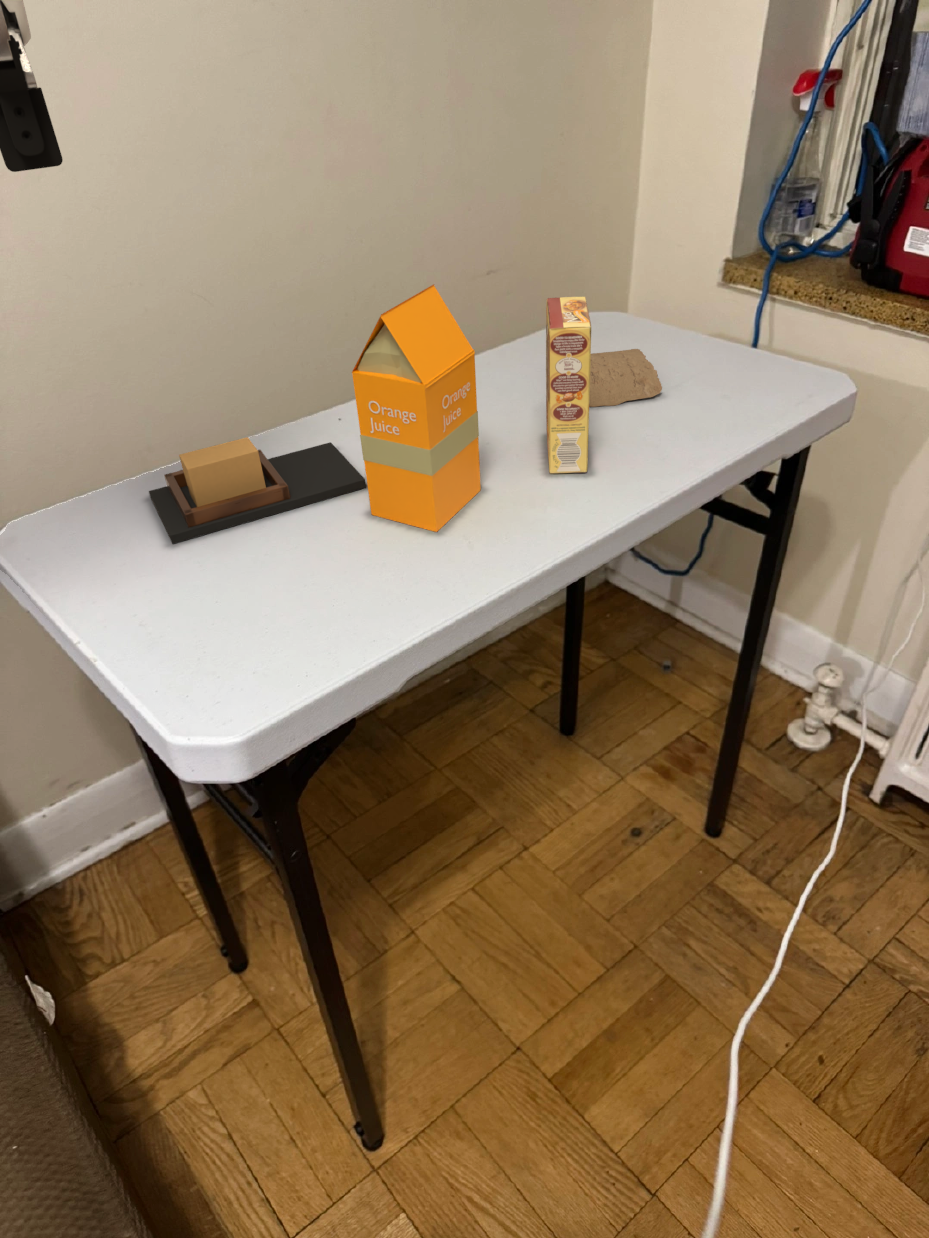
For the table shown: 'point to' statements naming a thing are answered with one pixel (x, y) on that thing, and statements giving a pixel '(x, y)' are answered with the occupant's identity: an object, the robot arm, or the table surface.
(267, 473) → the back pad
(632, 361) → the clay tablet
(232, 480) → the brown block
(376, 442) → the orange juice
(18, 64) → the robot arm
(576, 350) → the candy box
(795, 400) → the table surface
